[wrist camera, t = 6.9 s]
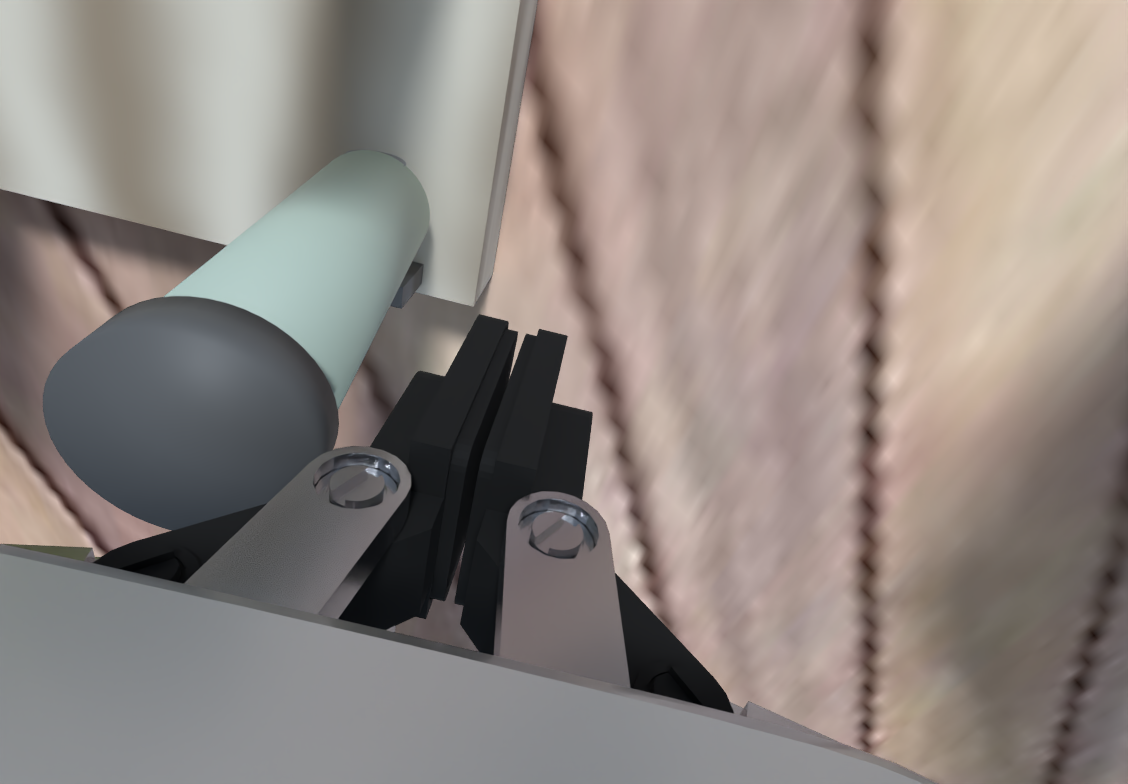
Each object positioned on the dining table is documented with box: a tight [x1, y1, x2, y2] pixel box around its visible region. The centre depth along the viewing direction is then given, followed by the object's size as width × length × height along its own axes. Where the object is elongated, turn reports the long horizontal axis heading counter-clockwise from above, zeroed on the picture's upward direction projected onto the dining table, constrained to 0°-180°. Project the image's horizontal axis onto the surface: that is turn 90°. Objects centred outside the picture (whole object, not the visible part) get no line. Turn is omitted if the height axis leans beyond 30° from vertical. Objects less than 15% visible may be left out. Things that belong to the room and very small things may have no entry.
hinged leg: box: [43, 150, 430, 531], centre depth 14 cm, size 4×4×12 cm
